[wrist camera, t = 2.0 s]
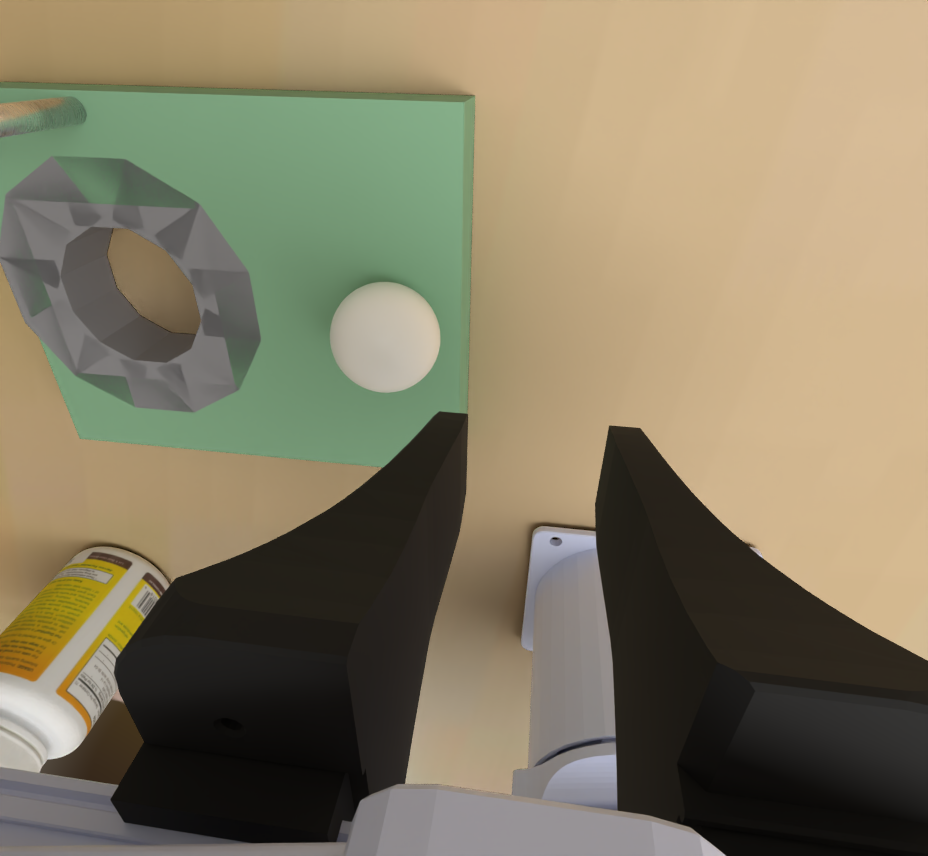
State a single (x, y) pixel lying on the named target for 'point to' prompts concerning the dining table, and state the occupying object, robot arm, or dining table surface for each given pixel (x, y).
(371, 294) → the ball
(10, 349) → the dining table surface
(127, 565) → the supplement bottle
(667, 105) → the dining table surface
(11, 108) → the flag pin
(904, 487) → the dining table surface
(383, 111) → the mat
